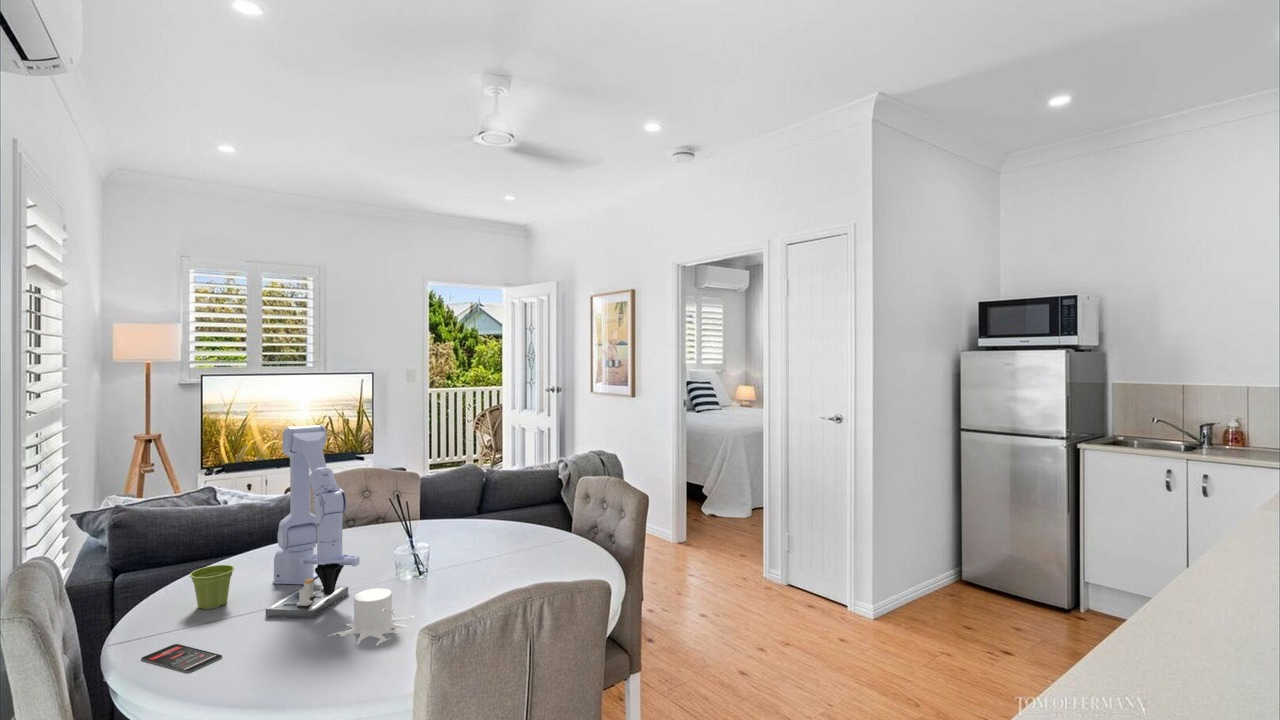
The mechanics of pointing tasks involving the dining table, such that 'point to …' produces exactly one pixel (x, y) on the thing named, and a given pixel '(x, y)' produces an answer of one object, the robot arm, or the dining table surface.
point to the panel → (319, 604)
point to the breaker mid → (310, 586)
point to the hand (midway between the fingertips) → (329, 593)
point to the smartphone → (181, 658)
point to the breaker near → (304, 597)
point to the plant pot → (212, 585)
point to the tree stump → (373, 615)
